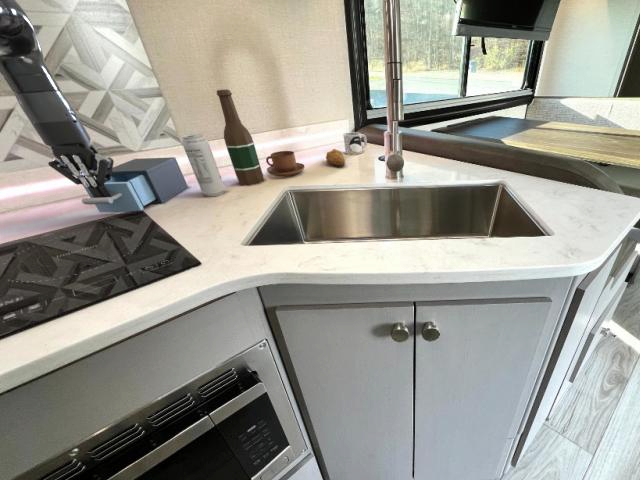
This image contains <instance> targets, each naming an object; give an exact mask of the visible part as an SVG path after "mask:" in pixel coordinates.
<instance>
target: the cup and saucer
mask: <svg viewBox="0 0 640 480" xmlns="http://www.w3.org/2000/svg"><path fill="white" fill-rule="evenodd" d="M270 159H271V162H272V163H270V161H269V160H270ZM265 161H266V164H267V166H269V167H267V168H266V172H267V173H268V174H269V175H272V176H275V177H287V176H294V175H297V174H300V173H301V172H302V171H304V169H305V164H304V163H301V162H297V161H296V154H295V152H294V151H292V150H281V151H275V152H272V153H271V154H270V155H268V156H267V157H266V158H265Z"/></svg>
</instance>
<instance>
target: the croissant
mask: <svg viewBox="0 0 640 480" xmlns="http://www.w3.org/2000/svg"><path fill="white" fill-rule="evenodd" d="M325 159H326V161H327V162H328V163H329V164H330V165H333V166H336V167H345V165H346V157H345V154H343V152H342V151H341V150H338V149H336V148H333V149H331V150H330V151H327V152H326V156H325Z"/></svg>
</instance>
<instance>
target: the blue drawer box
mask: <svg viewBox="0 0 640 480" xmlns="http://www.w3.org/2000/svg"><path fill="white" fill-rule="evenodd" d="M124 174H145V176H146V178H147V180H148V182H149V184H150V186H151V188H152V189H153V191H154V193H155V195H156V197H157V199H155V200H153V201H152V202H150V203H148V204H147V205H158V204H159V205H161V204H164V203H166V202H167V201H169V200H171V199H172V198H174V197H176V196H177V195H178V194H180V193H181V192H183V191H185V190H187V189H188V188H189V185H188V184H187V181H186V179H185V176H184V174H183V172H182V169H181V167H180V165H179V163H178V160H177V158H176V157H175V156H174V157H173V156H171V157H147V158H146V157H145V158H133V159H131V160H129V161H126V162H123V163H120V164H118V165H116V166H113V168H112V174H111V175H124Z"/></svg>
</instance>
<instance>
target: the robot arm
mask: <svg viewBox="0 0 640 480" xmlns="http://www.w3.org/2000/svg"><path fill="white" fill-rule="evenodd" d="M41 47H42V46H41V45H40V42H39V39H38V36H37V33H36V31H35V28H34V26H33V24H32V21H31V20H30V18H29V16H28V15H27V12H26V11H25V10H24V9H23V7H22V6H21V5H20V4H19V2H18V1H17V0H0V75H1V77H2V78H3V80H4V81H5V83H6V84H7V86H8V87H9V89H10V91H11V92H12V93H13V96H14V98H15V99H16V101H17V104H18V105H19V107H20V109H21V110H22V112H23V113H24V115H25V116H26V118H27V119H28V121H29V122H30V124H31V126H32V128H34V130H35V131H36V133H37V134H38V136H39V138H40V139H41V140H42V142H43V143H44V145H45V146H47V147H50V148H51V152H52V155H53V156H54V157H53V160H51V161H49V162H47V164H48V166H49V167H50V168H52V169H54V170H55V171H56V172H58V173H59V174H61V175H62V176H63V177H65V178H66V179H68V180H70V182H72V183H74V184H75V185H77V186H78V185H79V186H80V185H82V186H83V185H84V186H86V187H87V188H88V189H89V191H90V192H91V194H92V195H93V197H94V198H103V197H111V195H110V194H109V192H108V190H107V189H106V187H105V185H104V183H105V182H107V181H110V180H111V174H112V168H113V167H114V162H115V161H114V159H113V158H112V157H110V156H109V157H106V156H104V155H103V154H102V155H101V154H100V153H99V152H98V150H97V148H96V147H94V146H93V145H92V143H91V136H90V134H89V133H88V132H87V130H86V128H85V126H84V124H83V122H82V120H81V119H80V117H79V115H78V114H77V112H76V110H75V108H74V106H73V105H72V104H71V102H70V100H69V99H68V98H67V96H66V95H65V93H64V92H63V91H62V89H61V87H60V85H59V84H58V81H57V80H56V78H55V77H54V75H53V73H52V72H51V70H50V69H49V67H48V65H47V63H46V60H45V57H44V54H43V50H42V48H41ZM84 186H83V187H84Z"/></svg>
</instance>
